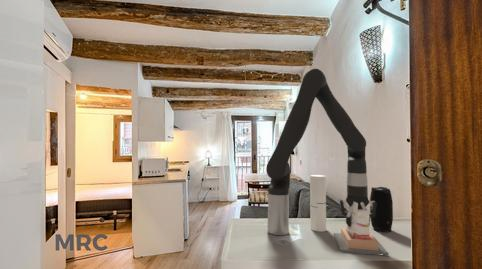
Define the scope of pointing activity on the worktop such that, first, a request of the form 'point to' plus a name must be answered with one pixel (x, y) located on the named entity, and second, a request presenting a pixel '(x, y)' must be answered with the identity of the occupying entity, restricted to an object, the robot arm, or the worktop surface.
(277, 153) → the robot arm
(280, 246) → the worktop surface
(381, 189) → the portable speaker
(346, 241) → the dock
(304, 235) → the worktop surface
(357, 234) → the ink cartridge box
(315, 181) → the cylindrical container
